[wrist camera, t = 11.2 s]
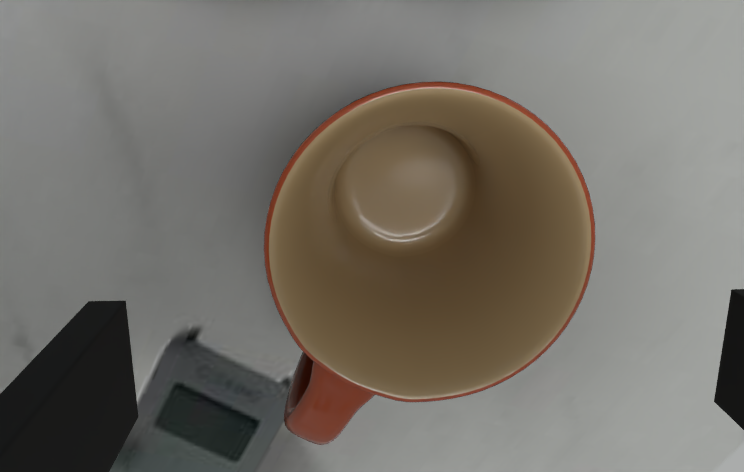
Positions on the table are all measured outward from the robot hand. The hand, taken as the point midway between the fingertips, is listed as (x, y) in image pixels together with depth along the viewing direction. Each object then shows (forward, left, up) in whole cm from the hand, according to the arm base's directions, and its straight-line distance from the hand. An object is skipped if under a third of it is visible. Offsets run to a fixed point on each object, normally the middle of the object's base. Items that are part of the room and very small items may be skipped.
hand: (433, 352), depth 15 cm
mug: (0, 0, -14) cm, 14 cm away
